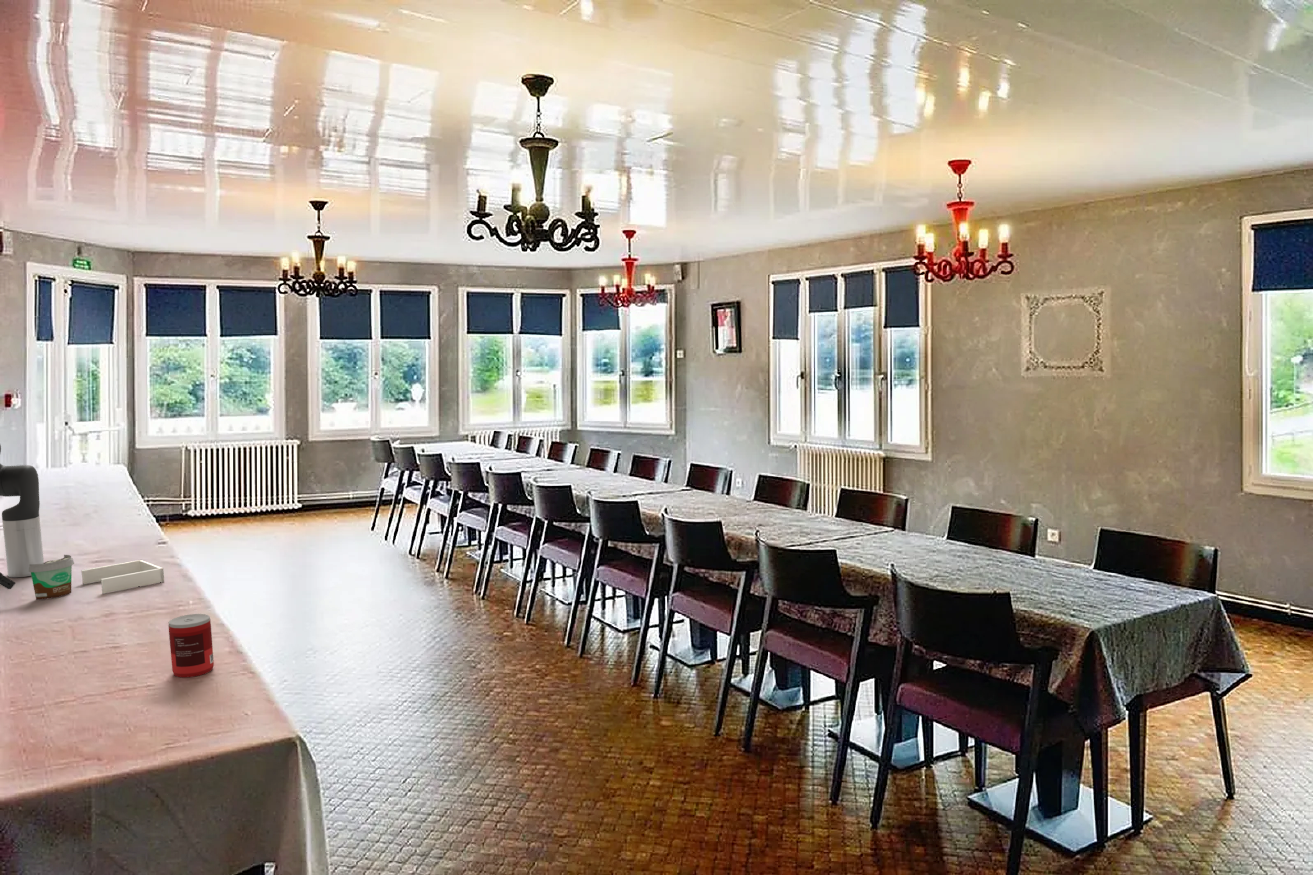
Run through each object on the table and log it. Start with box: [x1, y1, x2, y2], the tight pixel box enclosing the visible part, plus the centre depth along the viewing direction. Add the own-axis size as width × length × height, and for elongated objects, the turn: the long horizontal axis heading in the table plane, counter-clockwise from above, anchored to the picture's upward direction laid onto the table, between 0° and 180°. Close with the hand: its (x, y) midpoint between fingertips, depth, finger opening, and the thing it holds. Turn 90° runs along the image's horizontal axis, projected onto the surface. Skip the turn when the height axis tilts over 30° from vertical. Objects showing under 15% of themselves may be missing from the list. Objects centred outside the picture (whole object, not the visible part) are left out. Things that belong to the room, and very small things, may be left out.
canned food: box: [167, 613, 215, 679], centre depth 187 cm, size 8×8×11 cm
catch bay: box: [81, 559, 165, 595], centre depth 263 cm, size 18×16×4 cm
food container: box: [28, 554, 75, 601], centre depth 251 cm, size 12×6×10 cm, turn 168°
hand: (12, 586), depth 243 cm, fingers closed
